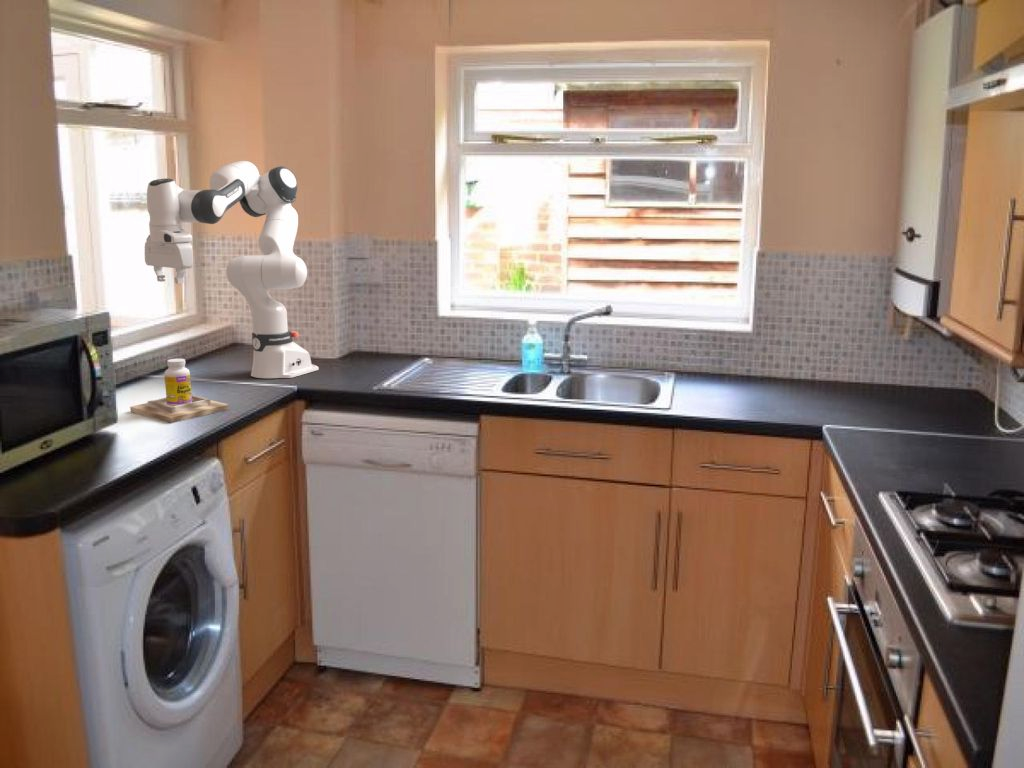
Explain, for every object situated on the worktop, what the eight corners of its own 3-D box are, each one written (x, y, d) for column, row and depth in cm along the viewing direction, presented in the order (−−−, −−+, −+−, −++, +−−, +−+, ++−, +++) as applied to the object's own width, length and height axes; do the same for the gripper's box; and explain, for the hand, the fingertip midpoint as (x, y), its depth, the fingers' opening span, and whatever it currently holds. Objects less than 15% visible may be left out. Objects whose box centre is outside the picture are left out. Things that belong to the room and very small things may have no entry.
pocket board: (187, 399, 271) (187, 389, 270) (229, 409, 259) (228, 399, 258) (130, 411, 257) (129, 401, 256) (171, 423, 245) (170, 412, 244)
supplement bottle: (177, 409, 253) (173, 363, 250) (162, 406, 257) (157, 360, 254) (197, 404, 259) (193, 359, 256) (181, 401, 262) (178, 356, 259)
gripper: (136, 234, 275) (141, 281, 278) (176, 237, 263) (180, 285, 266) (156, 233, 280) (160, 279, 283) (195, 236, 268) (199, 283, 271)
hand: (170, 282), depth 274 cm, fingers open, 8 cm apart
